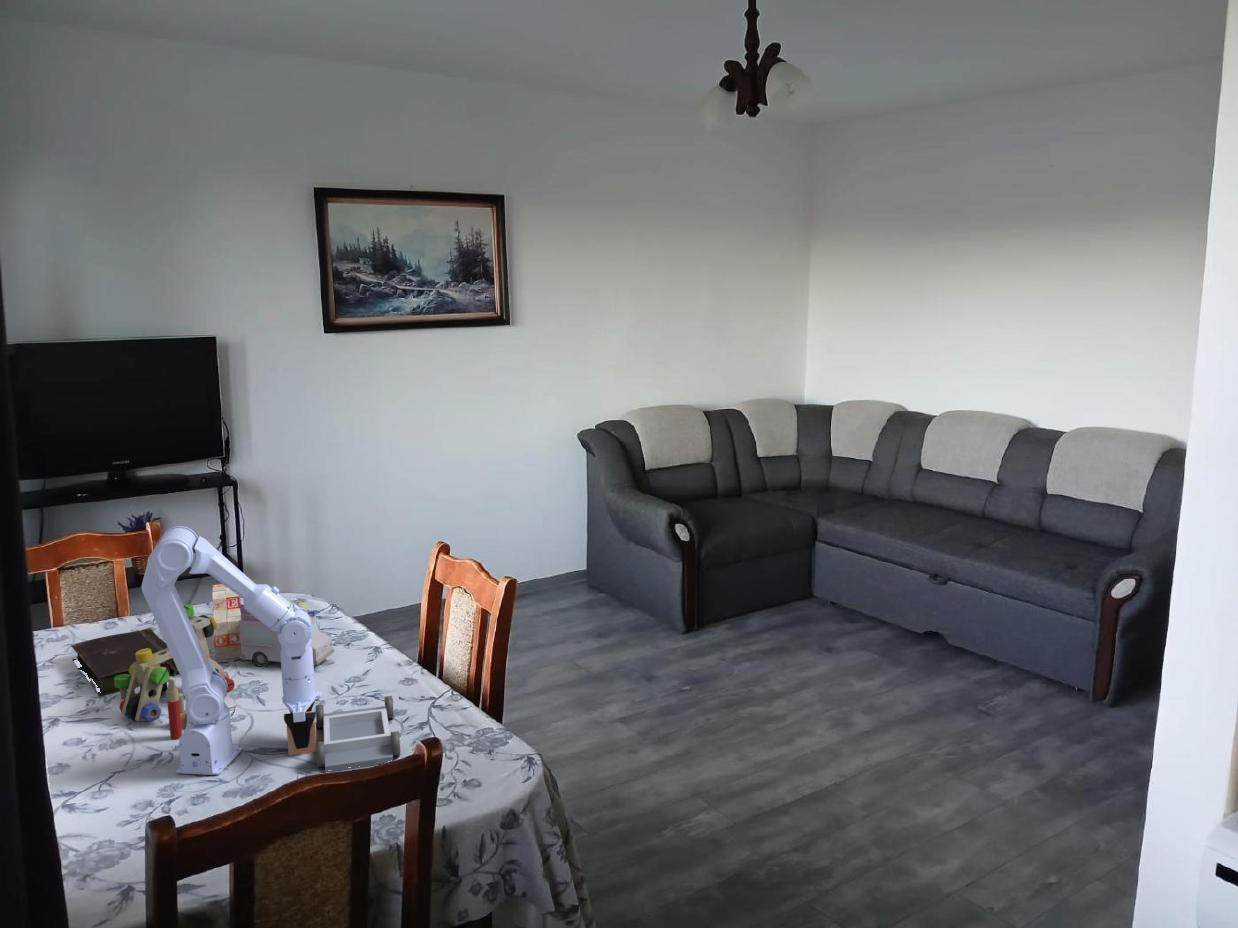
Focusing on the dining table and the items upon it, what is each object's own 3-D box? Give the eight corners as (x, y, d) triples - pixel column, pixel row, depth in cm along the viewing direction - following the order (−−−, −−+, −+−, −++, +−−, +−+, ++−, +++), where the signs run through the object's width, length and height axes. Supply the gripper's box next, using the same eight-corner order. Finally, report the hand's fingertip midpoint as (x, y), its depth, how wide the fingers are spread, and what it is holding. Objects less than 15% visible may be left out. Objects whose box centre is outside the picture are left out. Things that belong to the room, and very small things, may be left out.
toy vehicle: (316, 674, 212) (312, 611, 209) (238, 667, 216) (233, 605, 213) (336, 658, 221) (332, 597, 218) (261, 651, 225) (257, 592, 222)
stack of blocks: (243, 657, 222) (240, 607, 220) (215, 661, 220) (210, 611, 217) (242, 626, 241) (239, 580, 239) (216, 629, 239) (212, 583, 237)
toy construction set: (246, 725, 188) (239, 628, 184) (120, 752, 177) (109, 649, 173) (228, 677, 211) (221, 589, 207) (116, 698, 200) (106, 606, 196)
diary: (154, 645, 231) (153, 625, 230) (187, 677, 212) (185, 656, 211) (68, 664, 218) (66, 643, 218) (95, 700, 200) (93, 677, 199)
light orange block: (316, 751, 177) (314, 722, 176) (288, 755, 176) (286, 725, 175) (316, 739, 182) (314, 710, 181) (289, 743, 181) (287, 714, 180)
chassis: (401, 761, 174) (400, 739, 173) (317, 773, 170) (315, 751, 169) (391, 710, 194) (391, 690, 194) (317, 720, 190) (315, 699, 189)
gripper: (320, 686, 171) (324, 755, 173) (320, 656, 184) (324, 720, 187) (279, 691, 168) (284, 761, 171) (281, 660, 182) (286, 725, 185)
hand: (302, 740), depth 179 cm, fingers closed on light orange block, 5 cm apart
